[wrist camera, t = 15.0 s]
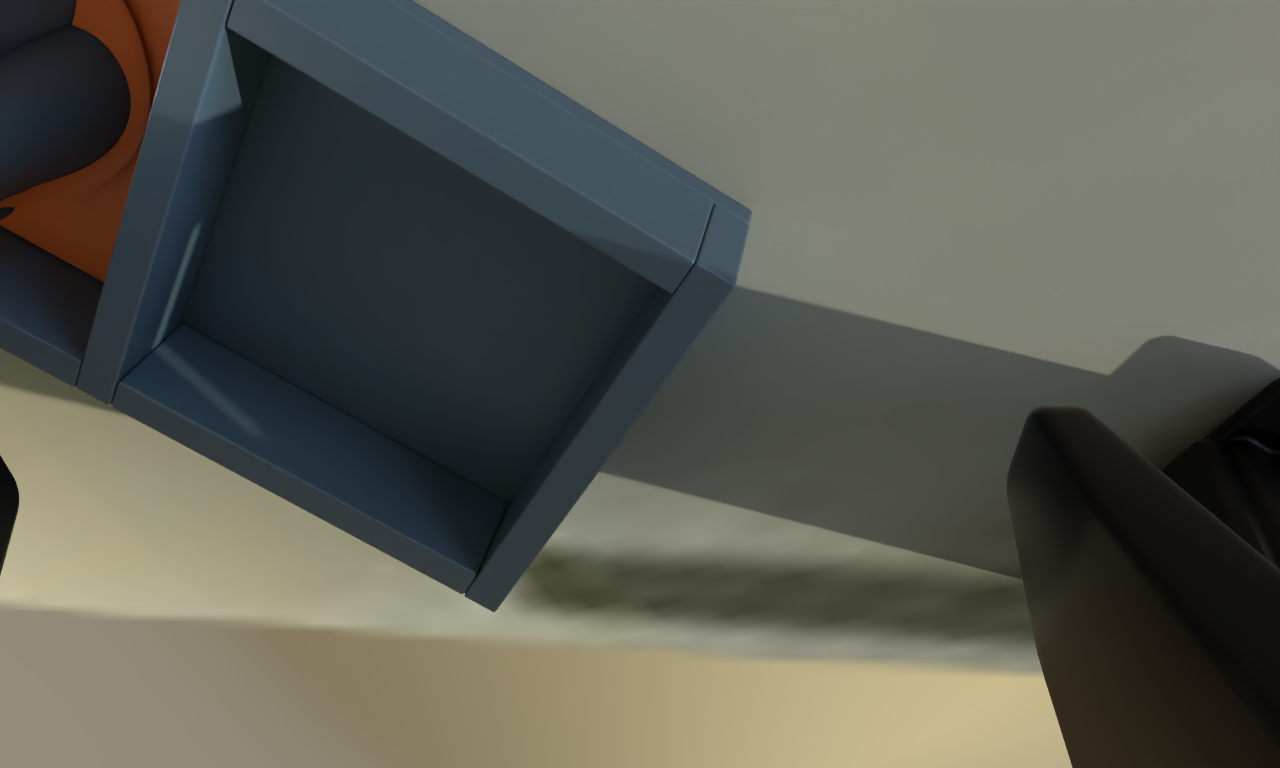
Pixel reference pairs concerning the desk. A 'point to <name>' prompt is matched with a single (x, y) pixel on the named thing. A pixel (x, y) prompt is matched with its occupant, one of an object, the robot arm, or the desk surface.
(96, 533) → the desk surface
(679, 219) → the divided tray
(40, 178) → the beer glass
